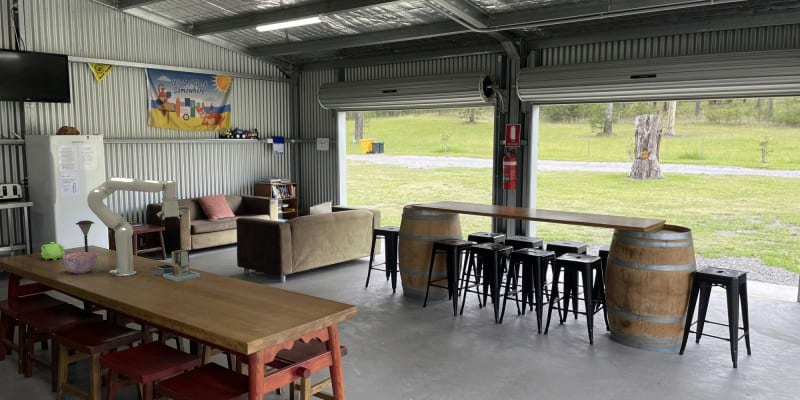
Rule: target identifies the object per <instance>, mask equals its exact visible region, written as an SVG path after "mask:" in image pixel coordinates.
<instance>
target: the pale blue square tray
mask: <svg viewBox="0 0 800 400" xmlns="http://www.w3.org/2000/svg"><path fill="white" fill-rule="evenodd" d="M162 278H163V279H164V278H165V280H168V279H169V280H168V281H171V280H172V282H175V283H179V282H183V281H184V282H185V281H189V280H190V281H191V280H194V279H199V278H201V273H198V272H196V271H192V270H190V275H188V276H183V277H174V276H173V273H167V274H163V277H162Z"/></svg>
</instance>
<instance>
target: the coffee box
mask: <svg viewBox="0 0 800 400" xmlns="http://www.w3.org/2000/svg"><path fill="white" fill-rule="evenodd" d="M171 265H172V270H173V276H174V277H183V276H188V275H190V271H191V270H190V251H189V250H182V249H178V250H173V251H171Z"/></svg>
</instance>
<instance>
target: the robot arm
mask: <svg viewBox="0 0 800 400" xmlns="http://www.w3.org/2000/svg"><path fill="white" fill-rule="evenodd" d="M116 191H125V192H126V191H127V192H142V193H154V194H155V193H160V192H163V197H162V198H161V200H162V205H161V211H159V212H157V213H156V215H157V217H158V218H159V219H160V221H161V223H160V224H161V226H162V227H165V226H166V220H165V219H166V218H171V217H172V218H173V217H175V225H177V226H179V225H180V222H181V221H180V219H181V217H182V216H183V214H184V211H182V210H180V205H179V202H178V200H177V183H176V181H175V180H160V179H158V180H157V179H156V180H146V179H145V180H144V179H138V178H136V177H135V178H134V177H125V176H123V177H122V176H116V175H113V176H110V177H108V178H107V179H106V181H104V182H103V183H102V184H100V185H98V186H97V187H95V188H93V189H91V190H90V191H89V193H88V196H87V200H86V201H87V202H86V203H87V207H88V208H89V209H90V210H91V211H92V213H93V214H94V215H95V216H96V217H97V218H98V220H100V221H101V222H102V224H104V226H105V227H106V228H109V229H112V230H113V231H114V241H115V249H116V250H115V252H116V254H115V255H116V267H115V269H112V270H109V271H108V273H109V274H114V276H115V277H128V276H133V275H136V274H137V271H136V270H134V255H133V254H134V251H133V237H132V236H133V234H134V229H133V227H132V225H131V224H130V223H129V222H128V221H127V220H126V219H125V218H124V217H123V216H122V215H121V214H120V213H118V212H115V211H113V210H111V209H110V208H109V207H108V205H106V203H104V201H103V200H105V199H107V198H108V197H109V196H110V195H112V194H113V193H114V192H116Z"/></svg>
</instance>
